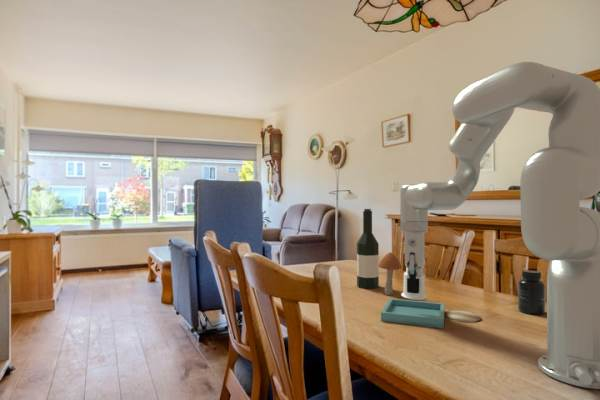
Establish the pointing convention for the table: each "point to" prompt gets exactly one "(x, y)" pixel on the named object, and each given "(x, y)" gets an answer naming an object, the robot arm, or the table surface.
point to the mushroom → (389, 270)
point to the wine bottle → (367, 255)
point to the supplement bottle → (531, 293)
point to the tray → (414, 313)
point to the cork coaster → (463, 316)
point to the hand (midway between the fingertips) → (414, 289)
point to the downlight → (421, 293)
